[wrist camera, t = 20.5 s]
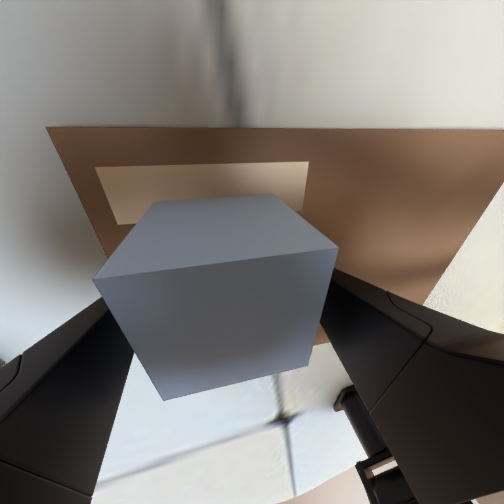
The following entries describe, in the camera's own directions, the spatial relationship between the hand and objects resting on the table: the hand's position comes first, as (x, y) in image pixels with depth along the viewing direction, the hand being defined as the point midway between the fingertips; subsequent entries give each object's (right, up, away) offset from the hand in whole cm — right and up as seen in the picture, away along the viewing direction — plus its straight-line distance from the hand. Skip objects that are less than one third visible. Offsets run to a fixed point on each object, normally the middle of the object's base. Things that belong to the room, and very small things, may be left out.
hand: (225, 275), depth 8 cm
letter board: (+6, 0, +5) cm, 8 cm away
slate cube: (0, +1, +2) cm, 2 cm away
